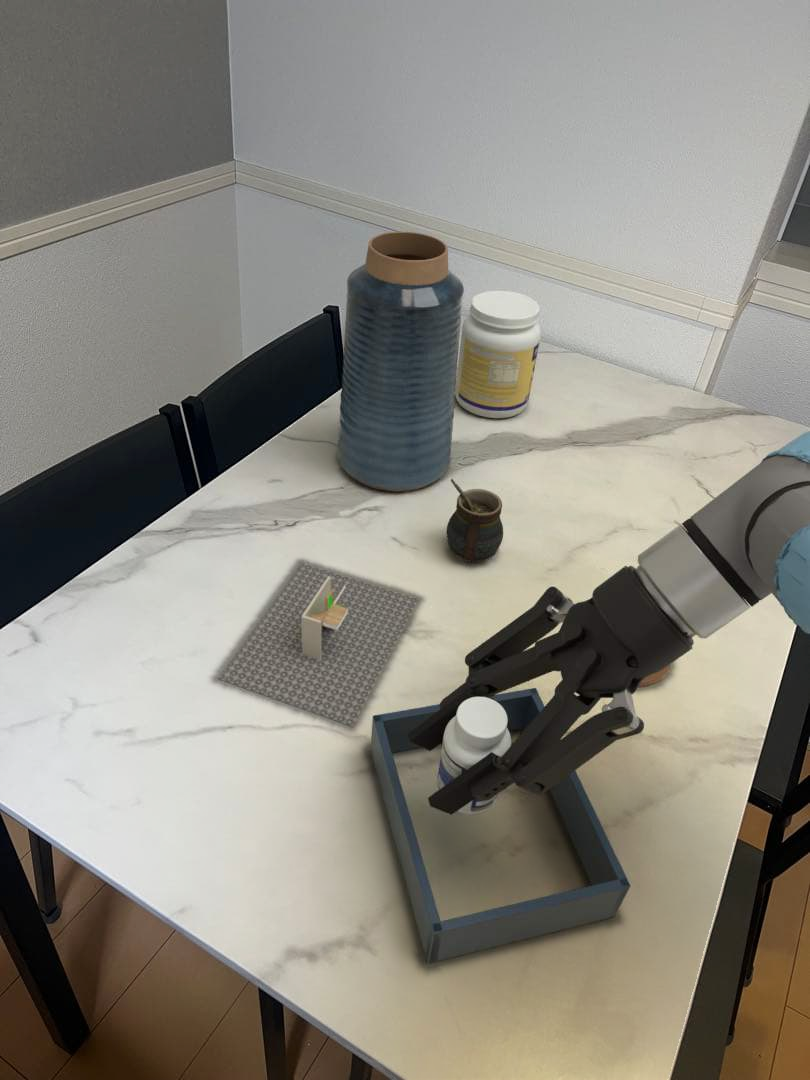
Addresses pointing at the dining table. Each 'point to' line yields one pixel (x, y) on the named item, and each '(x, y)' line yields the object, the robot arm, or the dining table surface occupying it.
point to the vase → (400, 363)
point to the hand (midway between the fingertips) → (429, 773)
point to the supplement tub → (498, 354)
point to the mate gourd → (475, 525)
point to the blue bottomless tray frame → (515, 918)
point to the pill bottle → (473, 743)
